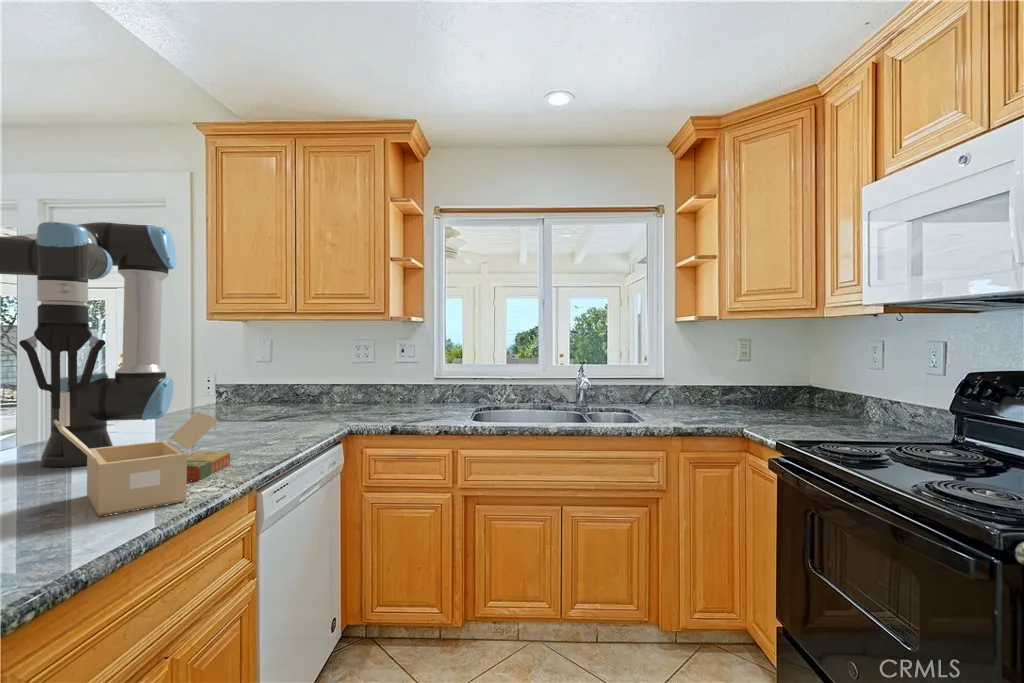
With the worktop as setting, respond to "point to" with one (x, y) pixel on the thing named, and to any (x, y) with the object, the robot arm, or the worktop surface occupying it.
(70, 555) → the worktop surface
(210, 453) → the carton
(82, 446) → the near flap
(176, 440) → the far flap
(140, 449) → the cardboard box
